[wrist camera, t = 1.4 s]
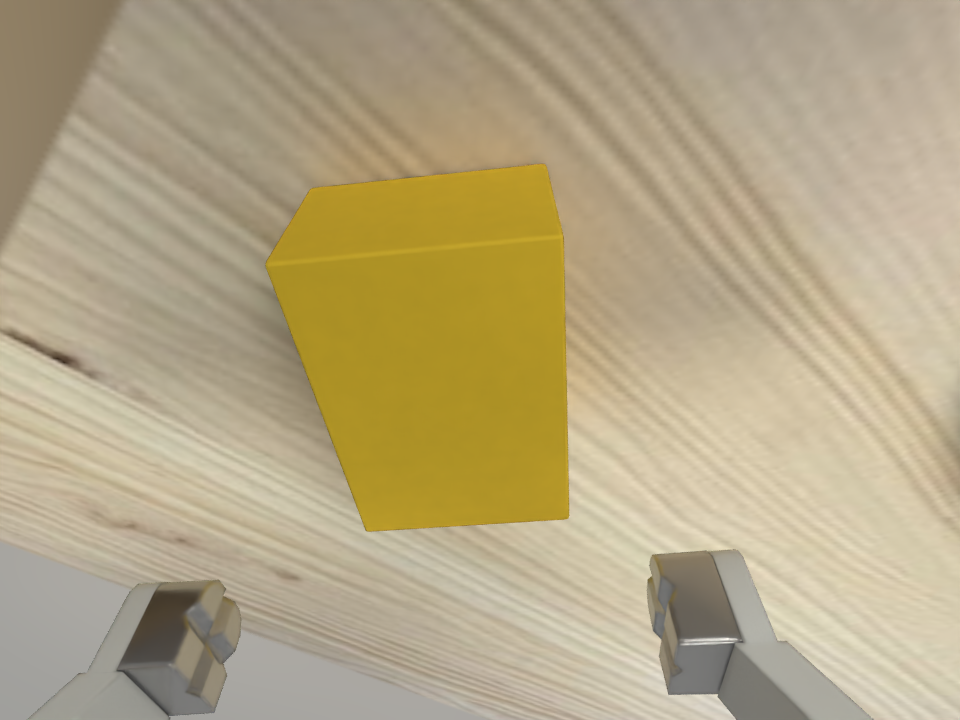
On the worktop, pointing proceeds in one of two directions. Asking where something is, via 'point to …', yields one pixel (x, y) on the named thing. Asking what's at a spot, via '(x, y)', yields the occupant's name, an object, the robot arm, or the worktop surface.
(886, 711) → the worktop surface
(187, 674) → the robot arm
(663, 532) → the worktop surface
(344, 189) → the yellow block
